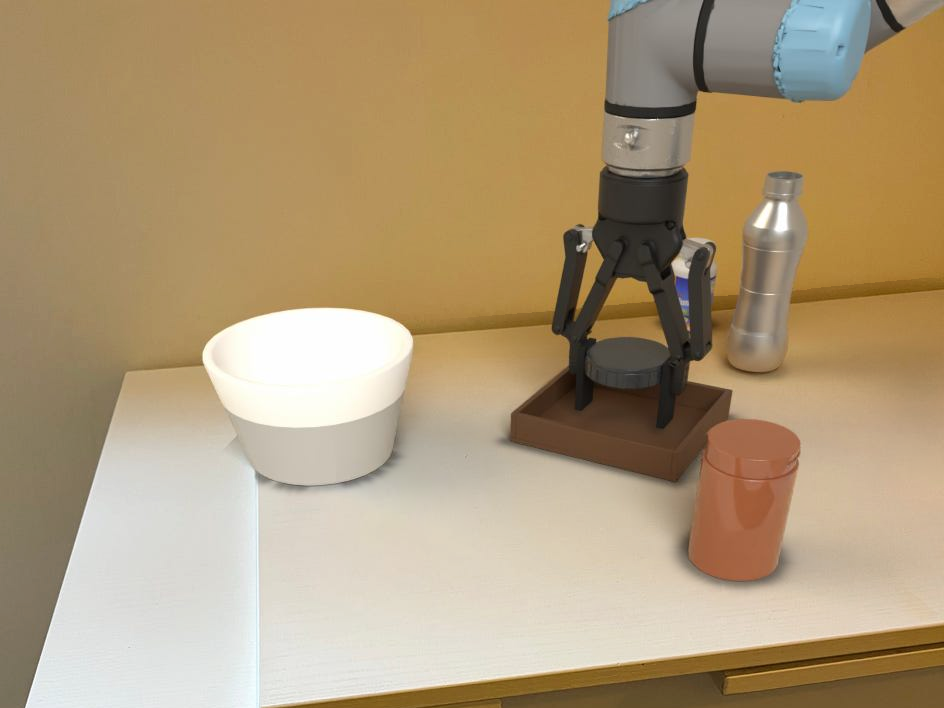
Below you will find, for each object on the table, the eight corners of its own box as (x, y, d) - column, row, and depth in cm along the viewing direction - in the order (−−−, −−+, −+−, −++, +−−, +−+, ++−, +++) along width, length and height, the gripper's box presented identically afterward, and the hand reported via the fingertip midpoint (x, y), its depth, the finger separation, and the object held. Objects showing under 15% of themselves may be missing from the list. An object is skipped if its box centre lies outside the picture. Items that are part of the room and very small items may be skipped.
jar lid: (570, 379, 95) (571, 360, 94) (605, 349, 100) (606, 331, 99) (651, 396, 91) (652, 376, 90) (682, 364, 97) (684, 345, 96)
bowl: (185, 486, 92) (161, 376, 85) (271, 399, 106) (256, 299, 100) (381, 512, 88) (372, 398, 81) (443, 418, 102) (439, 315, 96)
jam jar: (788, 546, 82) (814, 429, 76) (762, 590, 77) (788, 470, 71) (704, 524, 85) (722, 410, 79) (675, 566, 80) (691, 447, 74)
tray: (728, 417, 101) (732, 389, 99) (675, 482, 91) (679, 452, 89) (575, 384, 108) (576, 358, 106) (510, 441, 98) (510, 413, 96)
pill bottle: (655, 322, 122) (663, 241, 116) (686, 313, 124) (696, 232, 118) (686, 336, 119) (697, 252, 112) (718, 325, 121) (730, 243, 115)
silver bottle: (774, 383, 107) (811, 186, 95) (714, 372, 110) (742, 179, 98) (790, 362, 112) (828, 171, 99) (732, 352, 115) (761, 164, 102)
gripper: (516, 163, 86) (513, 407, 100) (751, 190, 78) (711, 452, 92) (553, 145, 91) (546, 380, 105) (778, 169, 83) (737, 420, 97)
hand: (623, 413), depth 99 cm, fingers closed on jar lid, 8 cm apart
